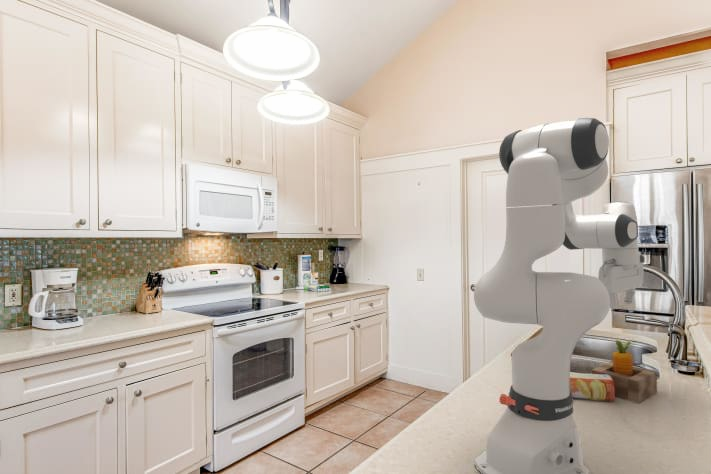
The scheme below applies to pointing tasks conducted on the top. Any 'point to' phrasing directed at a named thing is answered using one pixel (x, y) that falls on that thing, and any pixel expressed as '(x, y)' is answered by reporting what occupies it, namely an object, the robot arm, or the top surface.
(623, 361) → the carrot
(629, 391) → the socket block
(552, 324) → the robot arm
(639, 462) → the top surface
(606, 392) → the snack package
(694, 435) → the top surface
